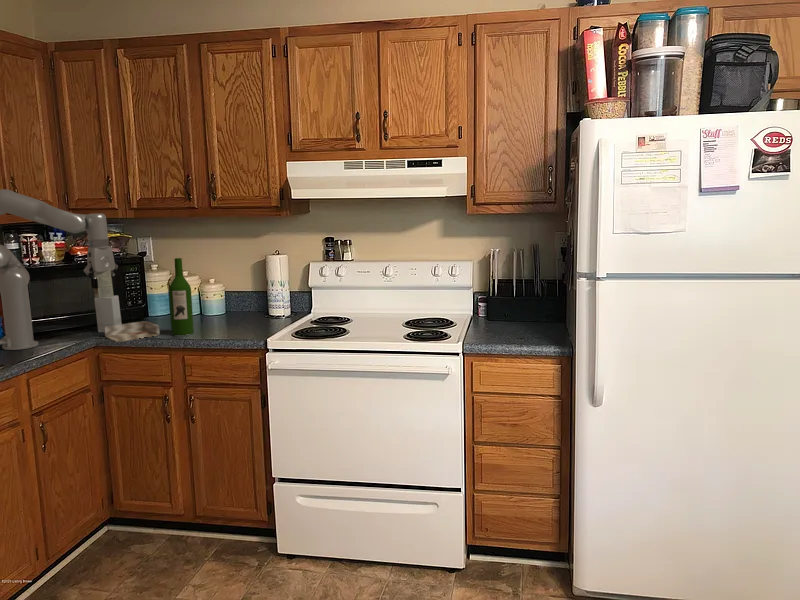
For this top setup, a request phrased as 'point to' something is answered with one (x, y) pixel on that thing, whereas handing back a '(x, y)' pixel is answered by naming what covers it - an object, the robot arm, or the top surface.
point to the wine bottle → (180, 302)
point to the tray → (131, 331)
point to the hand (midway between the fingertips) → (103, 286)
